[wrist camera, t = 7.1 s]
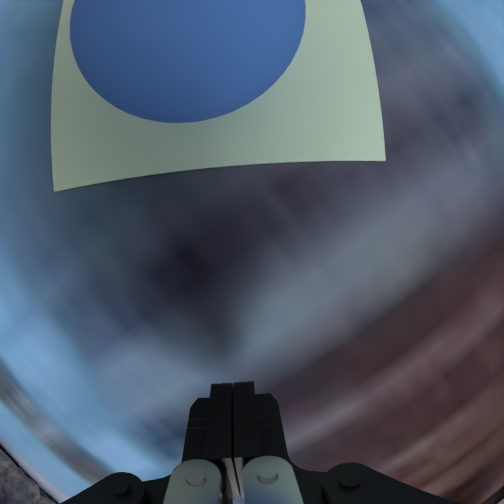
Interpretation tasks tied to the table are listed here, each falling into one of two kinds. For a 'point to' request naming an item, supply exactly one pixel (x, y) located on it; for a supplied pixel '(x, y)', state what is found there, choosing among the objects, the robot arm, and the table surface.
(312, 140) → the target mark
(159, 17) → the ball
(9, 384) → the table surface
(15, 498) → the geode
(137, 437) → the table surface
